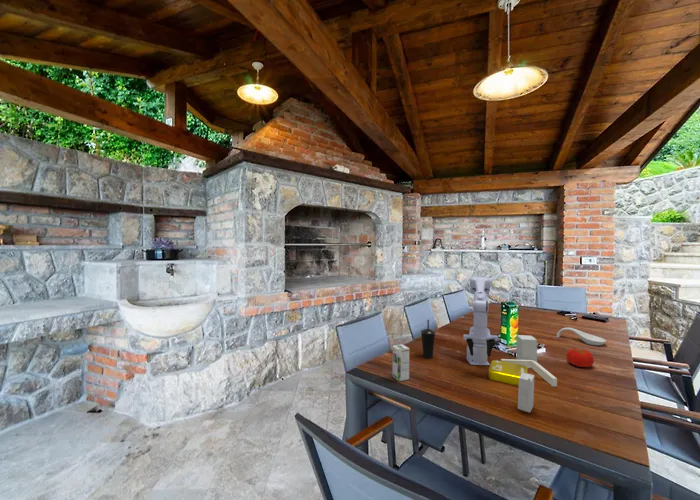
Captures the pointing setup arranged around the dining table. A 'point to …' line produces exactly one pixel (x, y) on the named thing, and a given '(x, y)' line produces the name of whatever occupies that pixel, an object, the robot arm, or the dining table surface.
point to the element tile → (506, 372)
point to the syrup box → (400, 362)
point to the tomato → (580, 357)
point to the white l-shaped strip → (535, 369)
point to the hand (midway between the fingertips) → (480, 355)
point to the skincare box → (526, 392)
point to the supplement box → (526, 348)
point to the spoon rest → (585, 337)
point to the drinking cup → (428, 341)
